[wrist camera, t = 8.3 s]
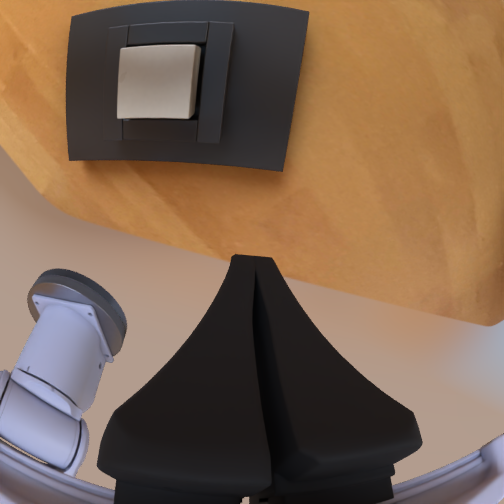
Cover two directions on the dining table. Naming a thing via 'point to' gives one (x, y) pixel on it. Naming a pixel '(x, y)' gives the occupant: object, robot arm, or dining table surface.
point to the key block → (208, 87)
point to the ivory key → (158, 81)
